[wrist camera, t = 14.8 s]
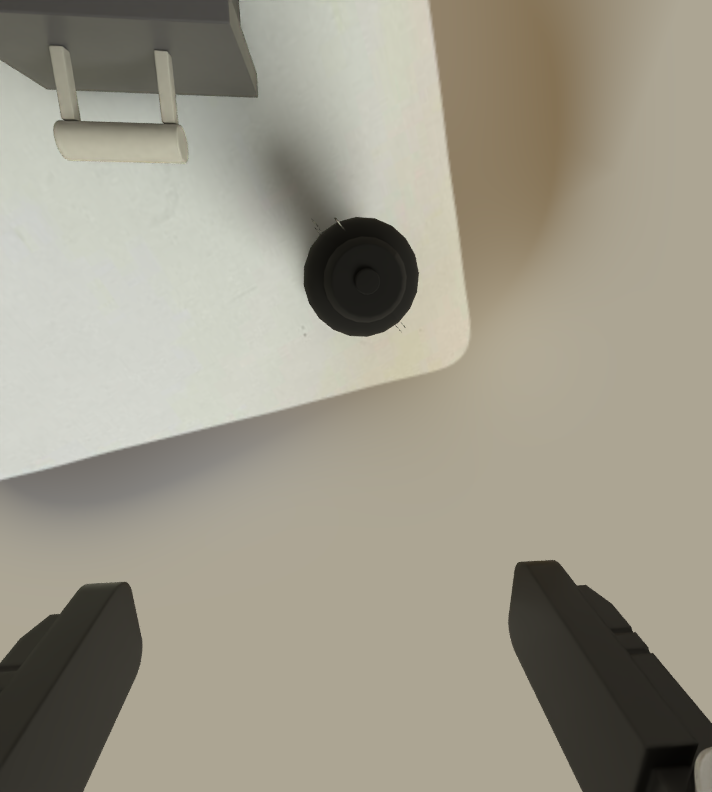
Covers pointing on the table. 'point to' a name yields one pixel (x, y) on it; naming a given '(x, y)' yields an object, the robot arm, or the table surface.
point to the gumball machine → (361, 276)
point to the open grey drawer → (127, 65)
